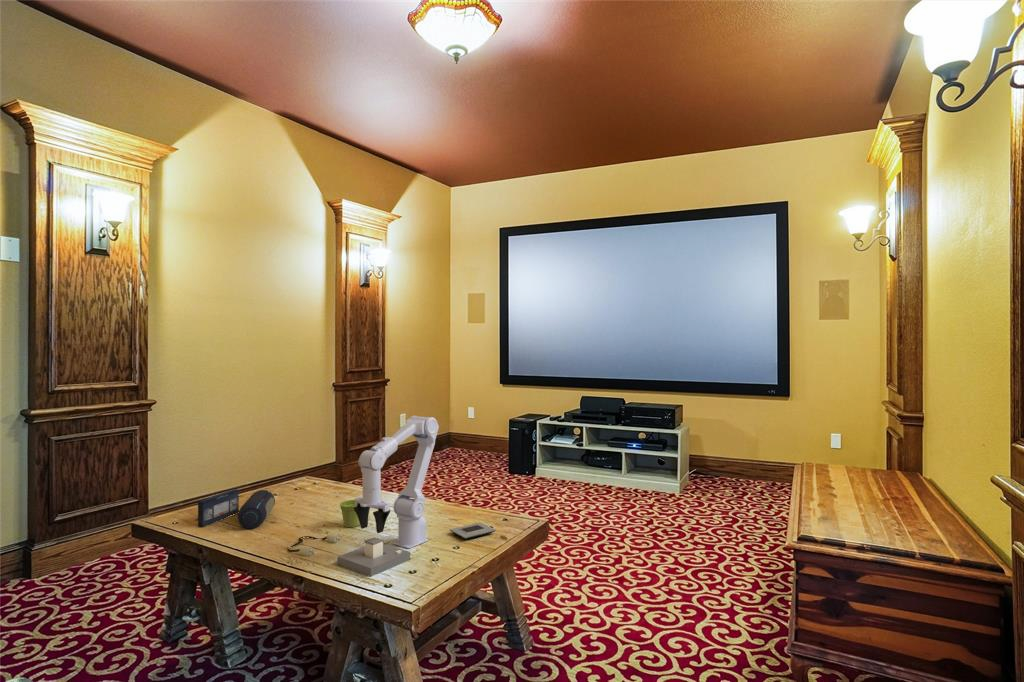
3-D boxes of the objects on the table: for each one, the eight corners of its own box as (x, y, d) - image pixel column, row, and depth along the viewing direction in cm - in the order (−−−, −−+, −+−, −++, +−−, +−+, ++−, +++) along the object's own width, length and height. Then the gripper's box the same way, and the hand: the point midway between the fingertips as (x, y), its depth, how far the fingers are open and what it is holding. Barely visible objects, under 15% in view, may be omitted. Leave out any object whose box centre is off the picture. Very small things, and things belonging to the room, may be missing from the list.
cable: (272, 553, 190) (272, 543, 190) (306, 537, 205) (306, 527, 205) (309, 559, 184) (309, 548, 184) (341, 542, 200) (341, 532, 200)
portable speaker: (264, 530, 212) (263, 503, 212) (235, 532, 210) (235, 505, 210) (277, 510, 236) (276, 486, 236) (251, 512, 234) (251, 488, 234)
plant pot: (339, 523, 219) (339, 500, 219) (364, 520, 222) (364, 498, 222) (339, 530, 211) (339, 507, 210) (365, 528, 213) (365, 504, 213)
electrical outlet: (464, 543, 198) (464, 536, 198) (449, 535, 206) (449, 528, 206) (495, 535, 206) (495, 528, 206) (479, 527, 214) (479, 521, 214)
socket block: (377, 549, 192) (376, 540, 192) (410, 559, 182) (410, 550, 182) (337, 564, 179) (337, 554, 179) (371, 576, 169) (370, 566, 169)
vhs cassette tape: (202, 527, 215) (202, 501, 215) (196, 527, 216) (196, 501, 216) (240, 513, 233) (239, 489, 232) (234, 513, 233) (234, 488, 233)
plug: (374, 558, 183) (374, 537, 183) (383, 561, 181) (382, 539, 181) (364, 562, 180) (364, 540, 180) (373, 565, 178) (373, 543, 178)
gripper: (347, 487, 184) (347, 529, 184) (377, 494, 175) (377, 538, 176) (364, 482, 190) (364, 523, 190) (394, 489, 181) (394, 531, 181)
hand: (372, 530), depth 183 cm, fingers open, 7 cm apart
